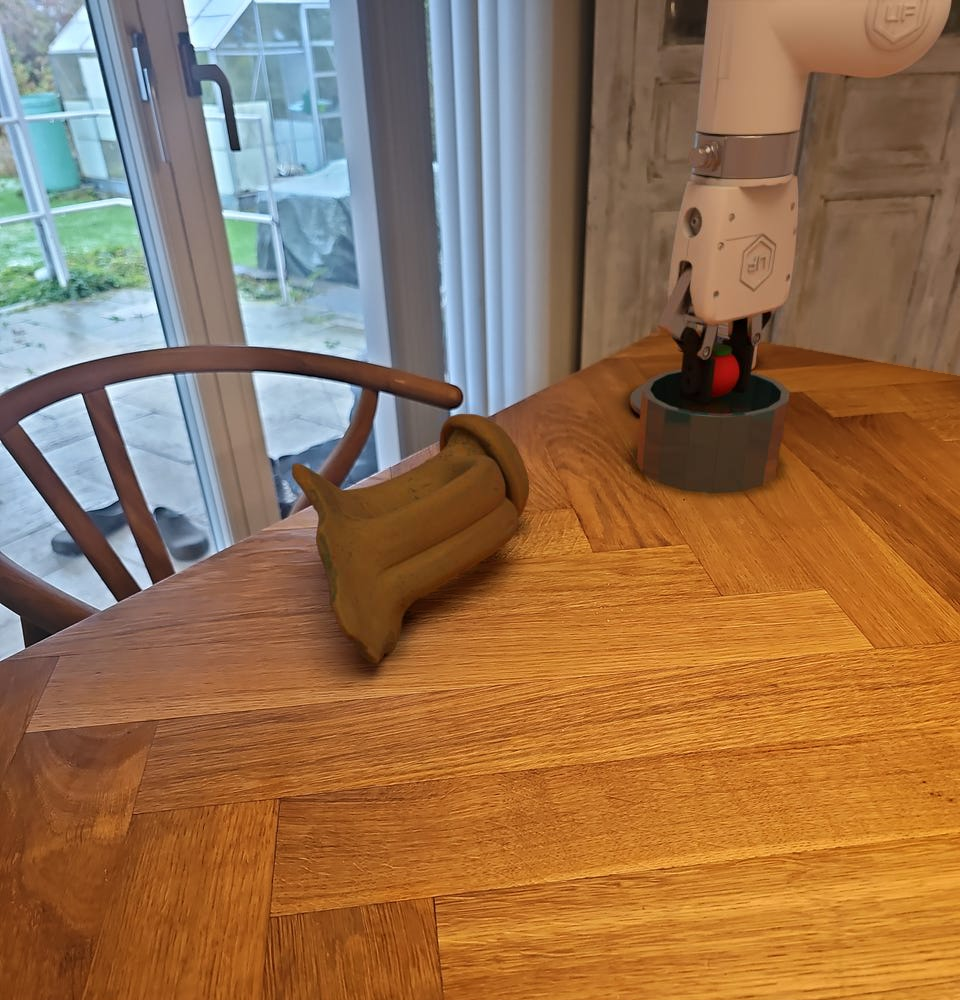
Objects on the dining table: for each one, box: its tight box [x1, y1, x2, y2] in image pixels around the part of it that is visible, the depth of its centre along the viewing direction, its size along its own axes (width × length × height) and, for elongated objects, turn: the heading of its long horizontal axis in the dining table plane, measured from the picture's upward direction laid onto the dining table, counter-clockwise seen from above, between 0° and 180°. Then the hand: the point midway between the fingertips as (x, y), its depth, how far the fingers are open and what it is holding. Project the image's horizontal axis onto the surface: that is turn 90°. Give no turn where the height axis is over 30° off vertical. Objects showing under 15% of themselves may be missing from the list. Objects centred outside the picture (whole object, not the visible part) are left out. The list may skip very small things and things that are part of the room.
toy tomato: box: [710, 344, 739, 397], centre depth 76 cm, size 4×4×4 cm
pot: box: [636, 368, 790, 494], centre depth 79 cm, size 12×12×8 cm
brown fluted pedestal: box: [291, 413, 530, 664], centre depth 63 cm, size 18×13×22 cm
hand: (713, 392), depth 77 cm, fingers closed on toy tomato, 3 cm apart
